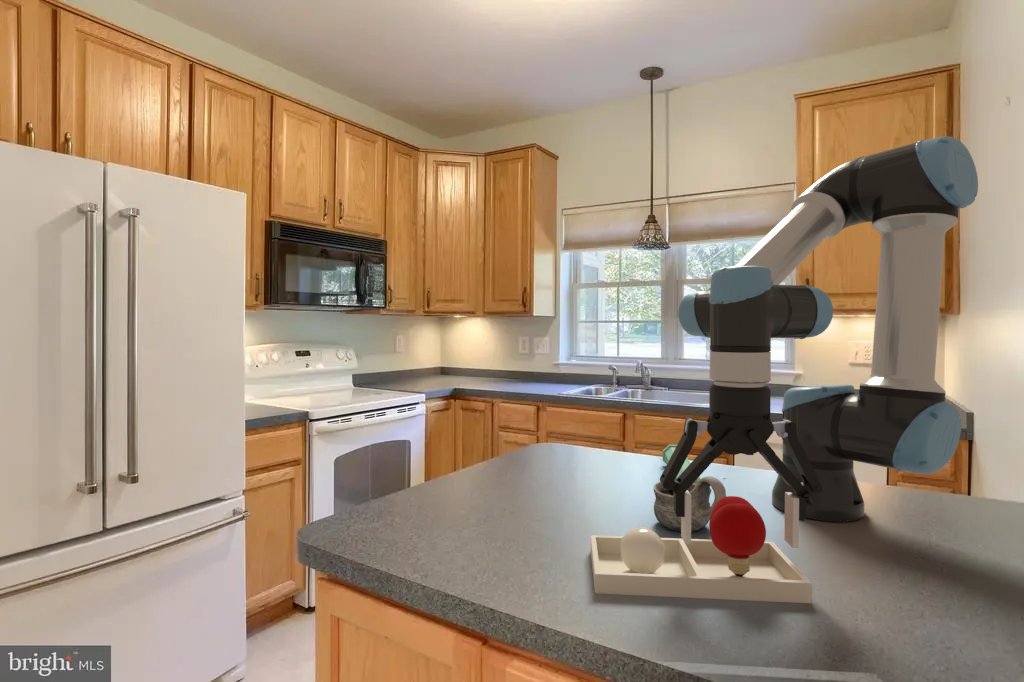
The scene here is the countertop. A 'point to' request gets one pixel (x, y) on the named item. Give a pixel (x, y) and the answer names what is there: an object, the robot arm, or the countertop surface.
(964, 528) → the countertop surface
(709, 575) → the tray
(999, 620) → the countertop surface
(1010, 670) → the countertop surface
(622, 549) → the egg
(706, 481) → the mug
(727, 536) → the red rounded piece
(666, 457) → the green octagonal rod
